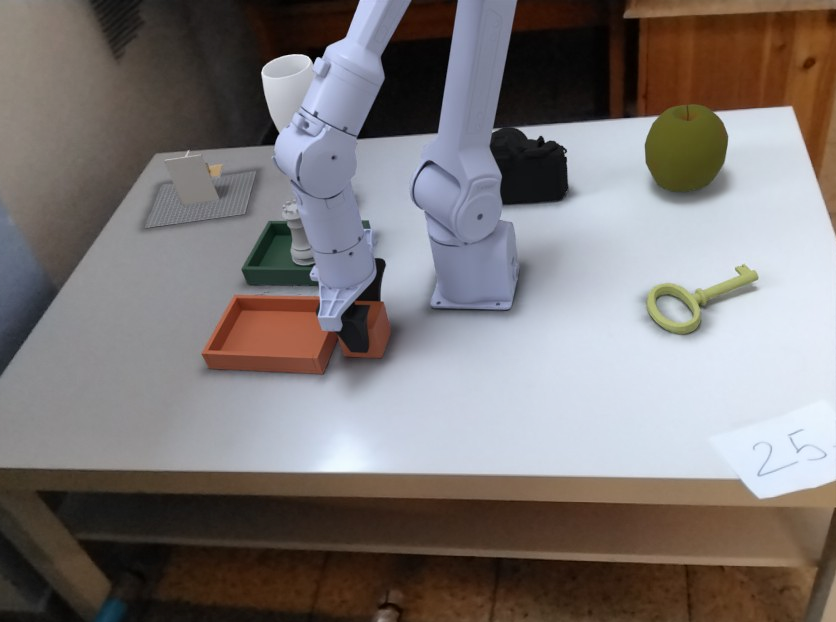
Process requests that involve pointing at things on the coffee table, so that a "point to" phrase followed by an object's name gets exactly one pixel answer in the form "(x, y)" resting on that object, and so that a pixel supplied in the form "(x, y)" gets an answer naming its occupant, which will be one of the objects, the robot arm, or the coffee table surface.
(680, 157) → the apple
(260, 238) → the green tray
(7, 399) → the coffee table surface
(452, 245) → the robot arm
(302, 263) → the rook chess piece
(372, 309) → the terracotta block
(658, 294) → the key
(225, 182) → the architectural model
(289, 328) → the terracotta tray
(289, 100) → the cup
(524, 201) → the film camera
